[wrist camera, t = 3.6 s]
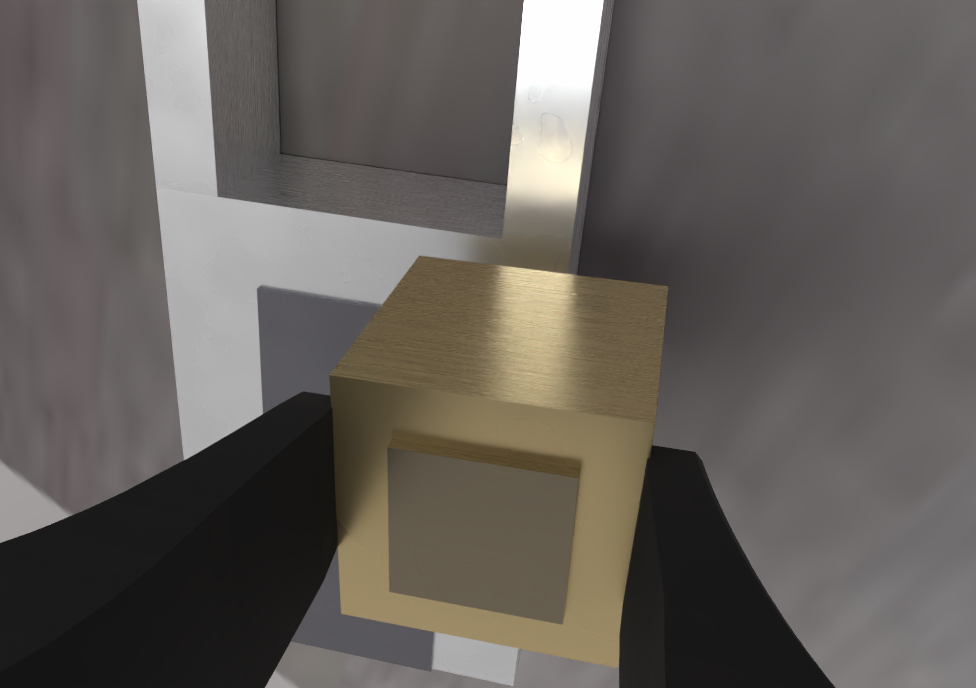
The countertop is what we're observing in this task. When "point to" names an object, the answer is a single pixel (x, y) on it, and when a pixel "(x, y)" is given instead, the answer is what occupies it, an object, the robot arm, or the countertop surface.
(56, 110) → the countertop surface
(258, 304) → the grey board with holes
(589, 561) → the block
